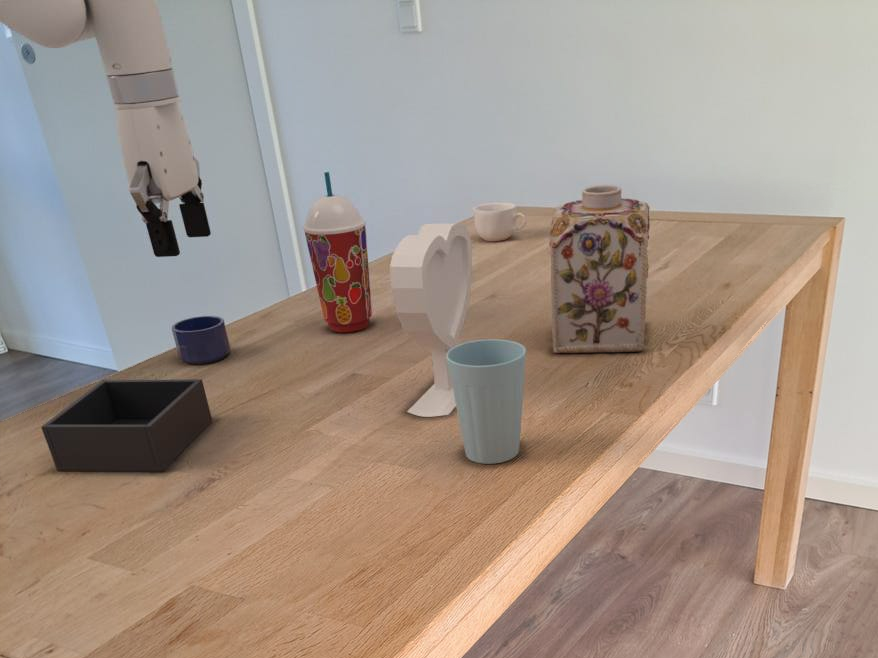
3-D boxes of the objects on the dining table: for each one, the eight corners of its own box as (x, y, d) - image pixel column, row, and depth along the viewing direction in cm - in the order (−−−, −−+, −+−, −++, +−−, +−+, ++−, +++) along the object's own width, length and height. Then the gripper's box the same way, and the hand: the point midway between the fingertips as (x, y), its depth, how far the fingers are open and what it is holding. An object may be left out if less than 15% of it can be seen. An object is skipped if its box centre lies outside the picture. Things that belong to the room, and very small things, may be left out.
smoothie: (387, 318, 133) (368, 166, 122) (363, 337, 127) (341, 178, 115) (336, 316, 136) (313, 167, 124) (310, 334, 130) (283, 179, 118)
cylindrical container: (172, 366, 123) (163, 332, 120) (192, 348, 128) (184, 316, 125) (219, 365, 122) (211, 331, 119) (238, 348, 127) (231, 315, 124)
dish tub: (57, 470, 97) (40, 426, 94) (115, 421, 108) (102, 380, 105) (163, 471, 95) (150, 426, 92) (212, 421, 106) (202, 379, 103)
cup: (536, 438, 96) (532, 338, 90) (522, 470, 90) (517, 366, 84) (465, 436, 97) (457, 338, 91) (447, 468, 92) (437, 365, 85)
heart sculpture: (442, 421, 101) (425, 249, 90) (400, 418, 103) (379, 248, 92) (485, 371, 113) (475, 214, 102) (447, 369, 114) (433, 214, 104)
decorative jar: (646, 323, 124) (651, 176, 113) (645, 353, 114) (651, 195, 104) (557, 325, 125) (554, 181, 115) (549, 354, 116) (546, 200, 106)
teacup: (467, 242, 168) (465, 210, 165) (486, 232, 173) (484, 201, 170) (517, 245, 164) (516, 212, 161) (534, 234, 169) (533, 203, 166)
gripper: (147, 84, 114) (184, 231, 124) (78, 102, 101) (125, 265, 111) (203, 80, 113) (236, 228, 123) (140, 97, 99) (183, 262, 109)
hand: (184, 245), depth 117 cm, fingers open, 9 cm apart
